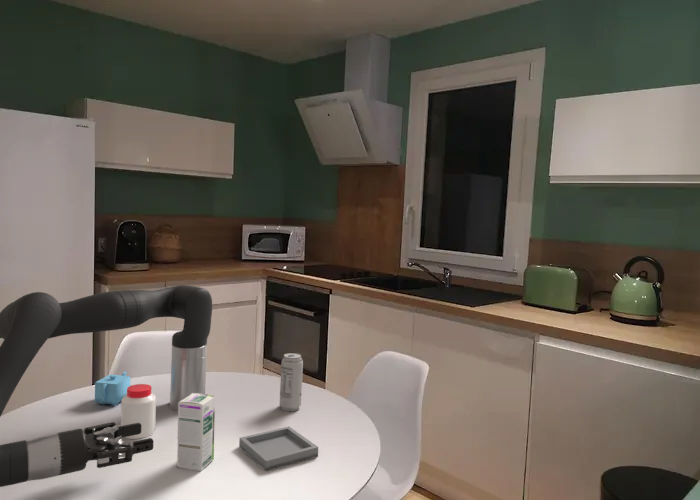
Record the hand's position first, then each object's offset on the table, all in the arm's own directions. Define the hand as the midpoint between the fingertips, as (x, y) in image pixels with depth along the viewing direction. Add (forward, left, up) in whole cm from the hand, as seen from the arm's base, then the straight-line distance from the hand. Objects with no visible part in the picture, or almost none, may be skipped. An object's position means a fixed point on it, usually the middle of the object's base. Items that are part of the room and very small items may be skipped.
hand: (146, 435), depth 106 cm
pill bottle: (-22, +4, -9) cm, 24 cm away
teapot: (-46, +4, -9) cm, 47 cm away
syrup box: (0, +10, -9) cm, 13 cm away
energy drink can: (-18, +44, -9) cm, 49 cm away
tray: (+4, +28, -9) cm, 30 cm away
